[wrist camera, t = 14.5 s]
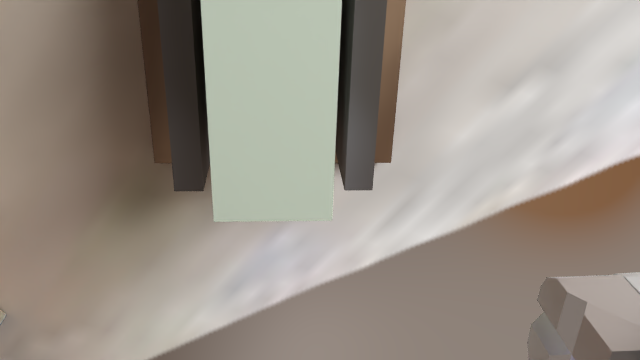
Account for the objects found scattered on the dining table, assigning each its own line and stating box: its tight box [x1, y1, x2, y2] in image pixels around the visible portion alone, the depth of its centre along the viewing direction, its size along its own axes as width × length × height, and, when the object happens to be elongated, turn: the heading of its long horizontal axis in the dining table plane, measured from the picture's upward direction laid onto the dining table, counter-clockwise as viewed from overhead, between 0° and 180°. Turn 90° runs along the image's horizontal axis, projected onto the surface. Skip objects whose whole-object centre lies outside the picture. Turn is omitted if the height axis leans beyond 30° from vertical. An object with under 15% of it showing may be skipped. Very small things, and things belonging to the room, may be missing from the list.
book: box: [201, 0, 342, 222], centre depth 22 cm, size 4×9×10 cm, turn 178°
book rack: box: [138, 0, 406, 191], centre depth 25 cm, size 12×14×6 cm
